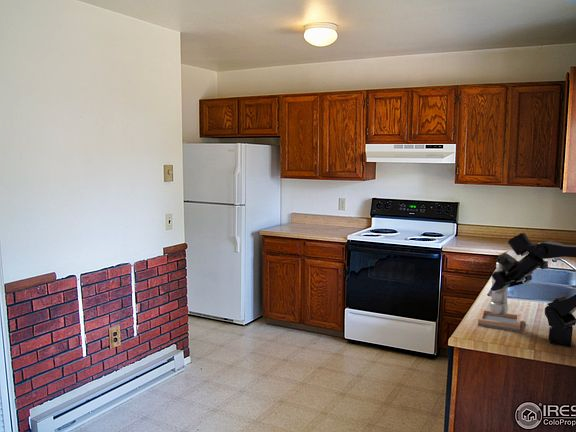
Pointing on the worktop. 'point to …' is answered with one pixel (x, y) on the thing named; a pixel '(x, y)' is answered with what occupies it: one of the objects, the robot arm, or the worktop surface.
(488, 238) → the worktop surface
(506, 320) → the tray
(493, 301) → the silver tall hollow piece
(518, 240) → the robot arm
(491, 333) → the worktop surface
